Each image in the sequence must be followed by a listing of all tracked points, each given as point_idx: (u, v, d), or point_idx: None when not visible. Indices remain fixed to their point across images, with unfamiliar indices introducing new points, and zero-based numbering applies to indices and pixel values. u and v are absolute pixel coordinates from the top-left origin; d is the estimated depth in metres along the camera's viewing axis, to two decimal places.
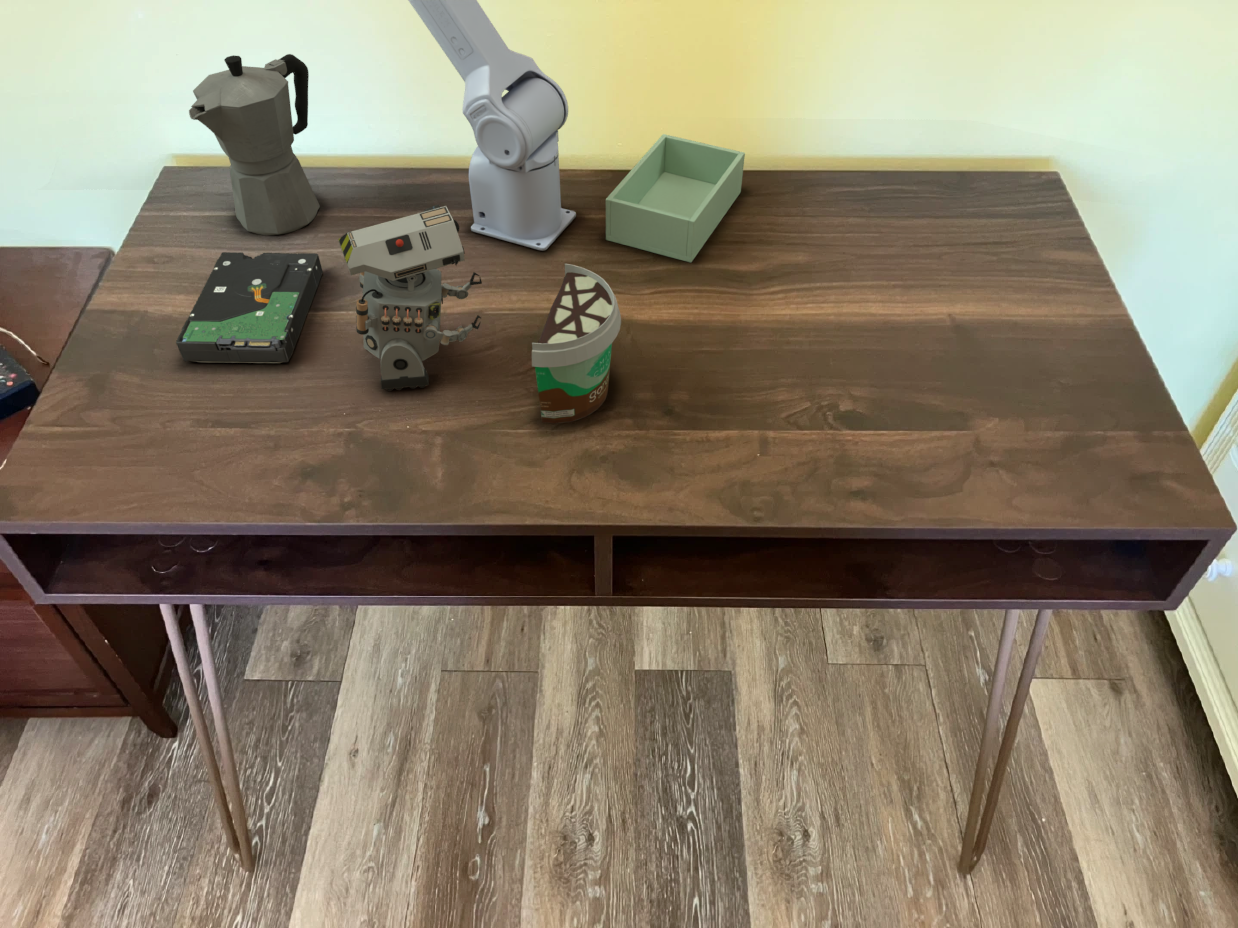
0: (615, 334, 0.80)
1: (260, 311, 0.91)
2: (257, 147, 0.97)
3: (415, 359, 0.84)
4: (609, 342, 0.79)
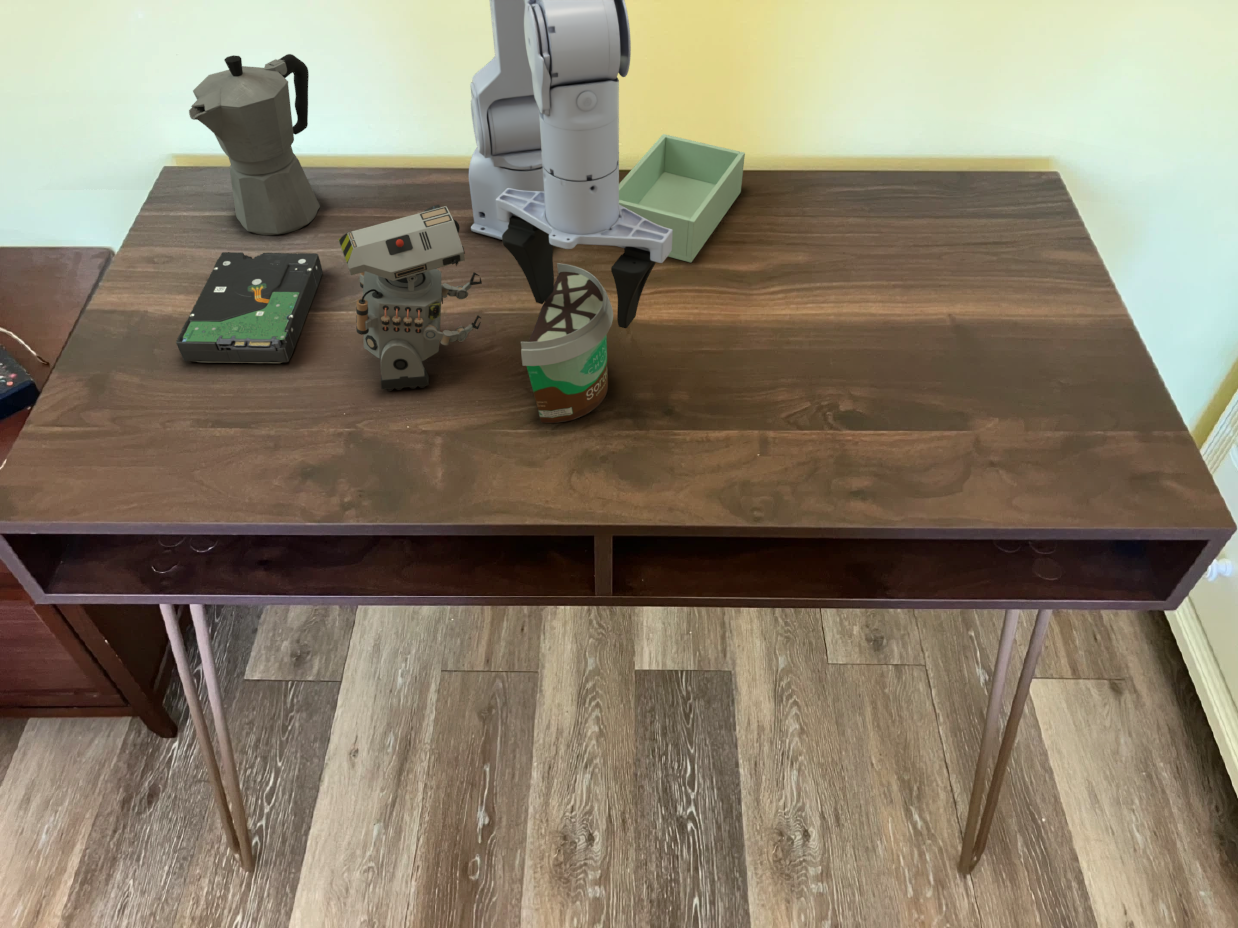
0: (606, 330, 0.79)
1: (260, 311, 0.91)
2: (257, 146, 0.97)
3: (415, 359, 0.84)
4: (600, 338, 0.79)
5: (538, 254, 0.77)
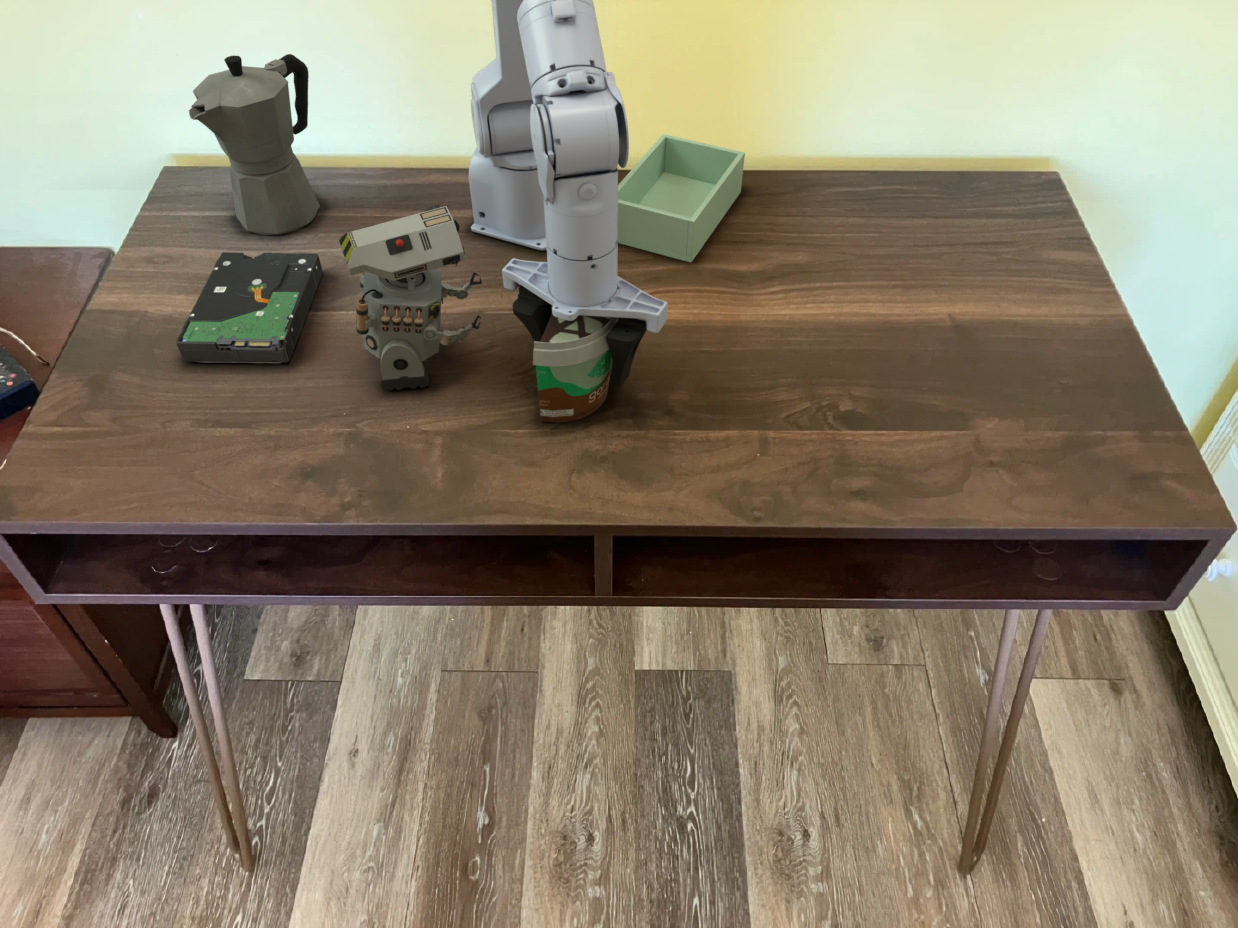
0: None
1: (260, 311, 0.91)
2: (257, 147, 0.97)
3: (415, 359, 0.84)
4: None
5: (546, 321, 0.82)
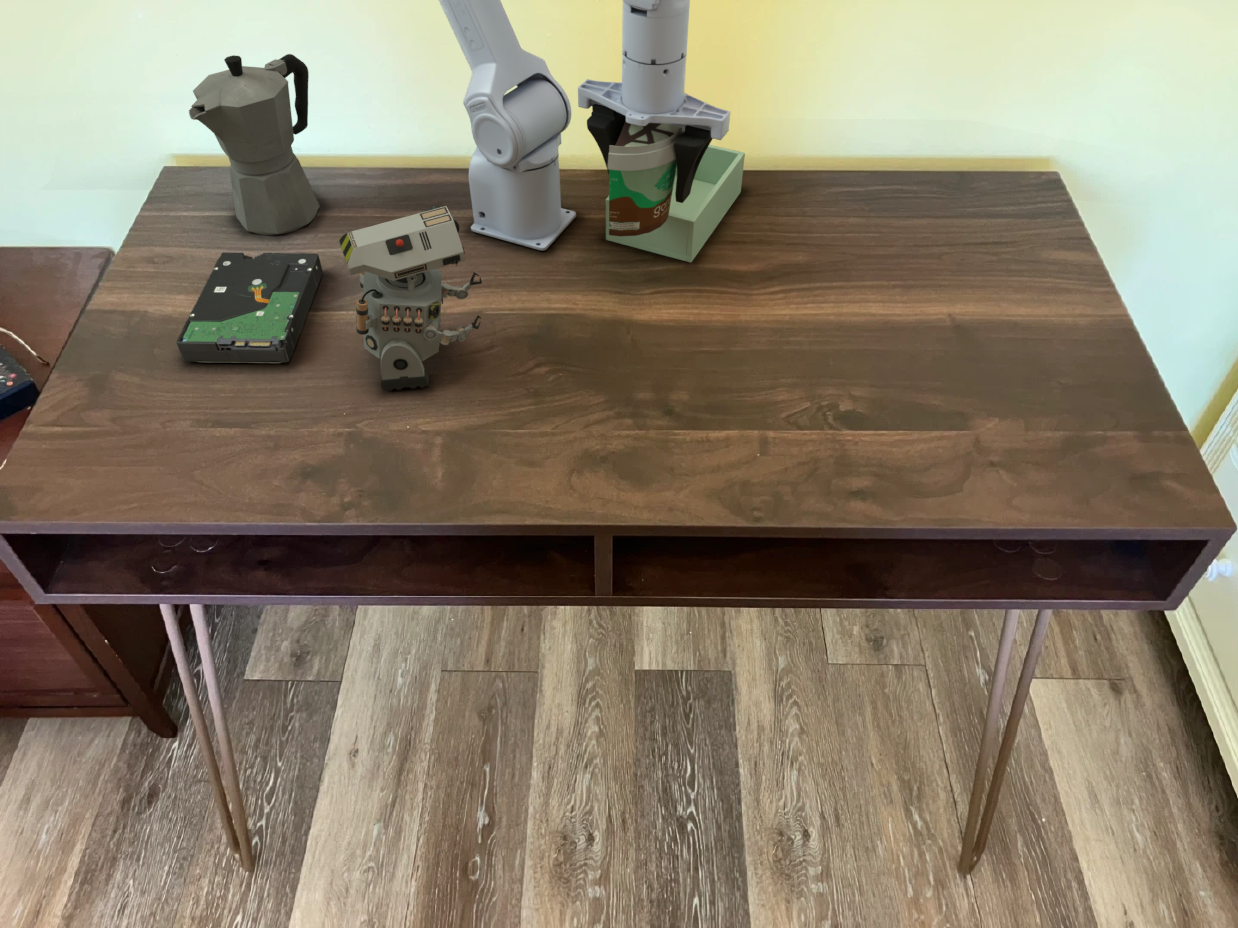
0: None
1: (260, 311, 0.91)
2: (257, 146, 0.97)
3: (415, 359, 0.84)
4: None
5: (616, 139, 0.89)
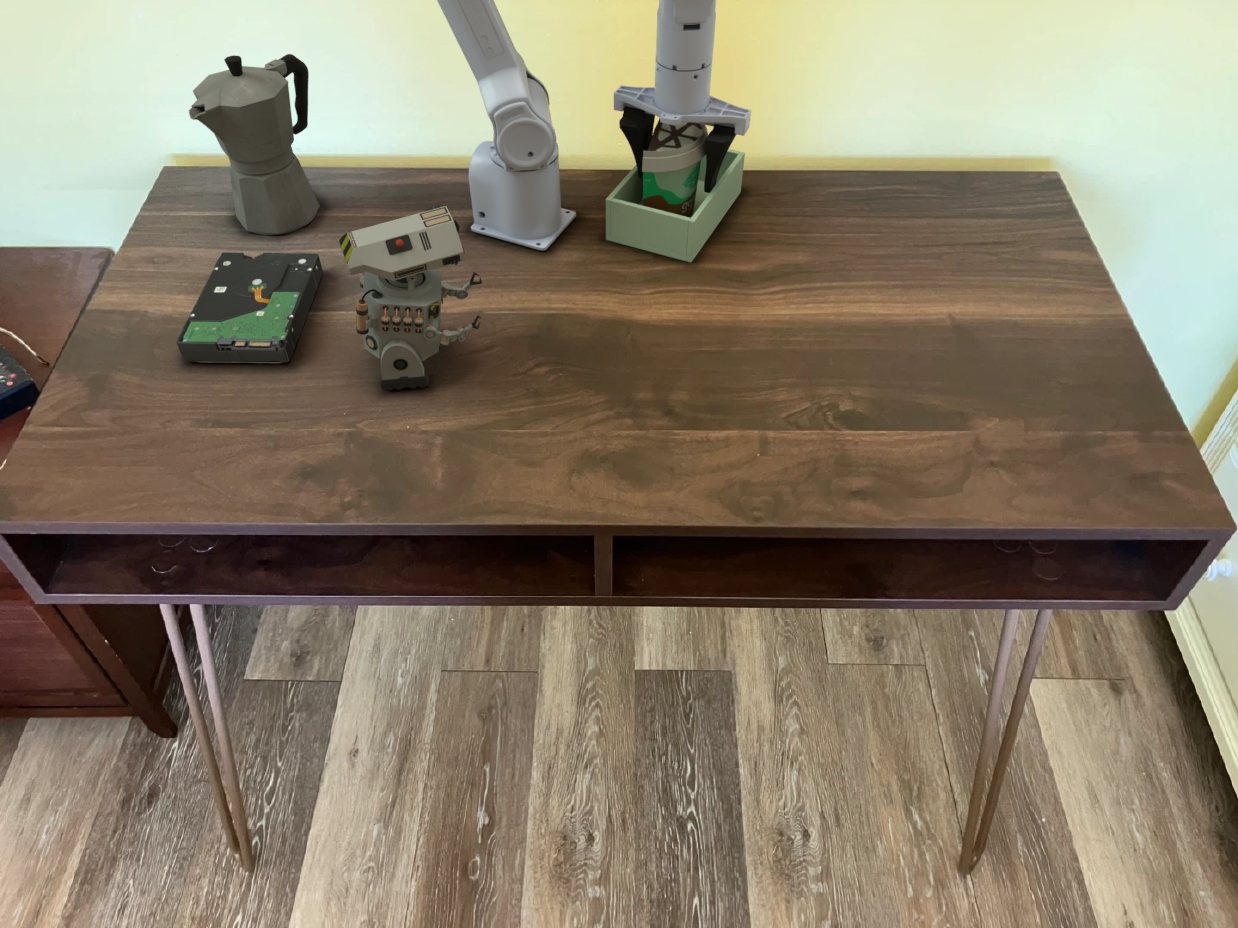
0: None
1: (260, 311, 0.91)
2: (257, 146, 0.97)
3: (415, 359, 0.84)
4: (702, 156, 0.99)
5: (644, 137, 1.01)
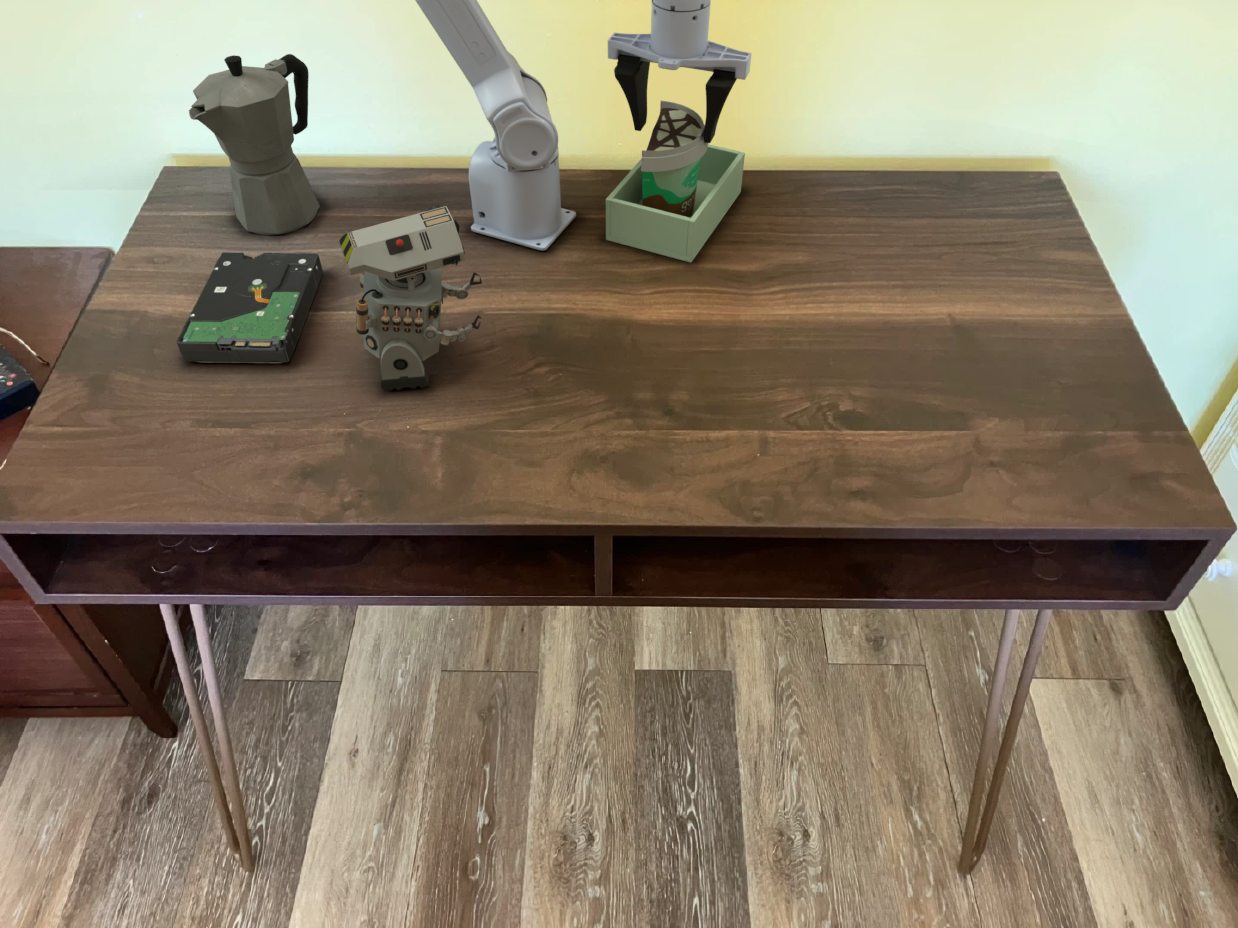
0: (705, 149, 0.99)
1: (260, 311, 0.91)
2: (257, 146, 0.97)
3: (415, 359, 0.84)
4: (700, 155, 0.99)
5: (640, 86, 0.97)
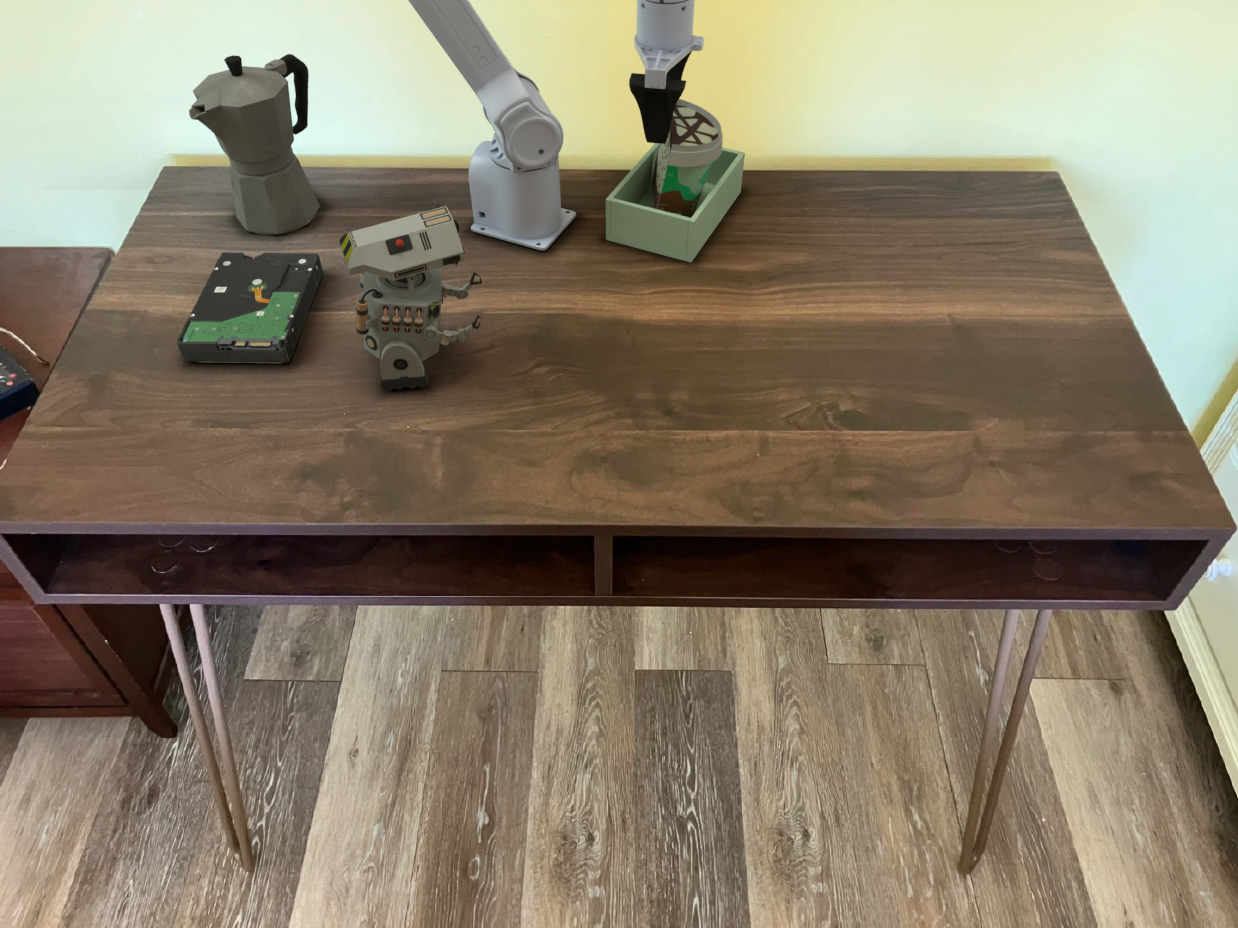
0: None
1: (260, 311, 0.91)
2: (257, 146, 0.97)
3: (415, 359, 0.84)
4: (720, 153, 0.99)
5: None
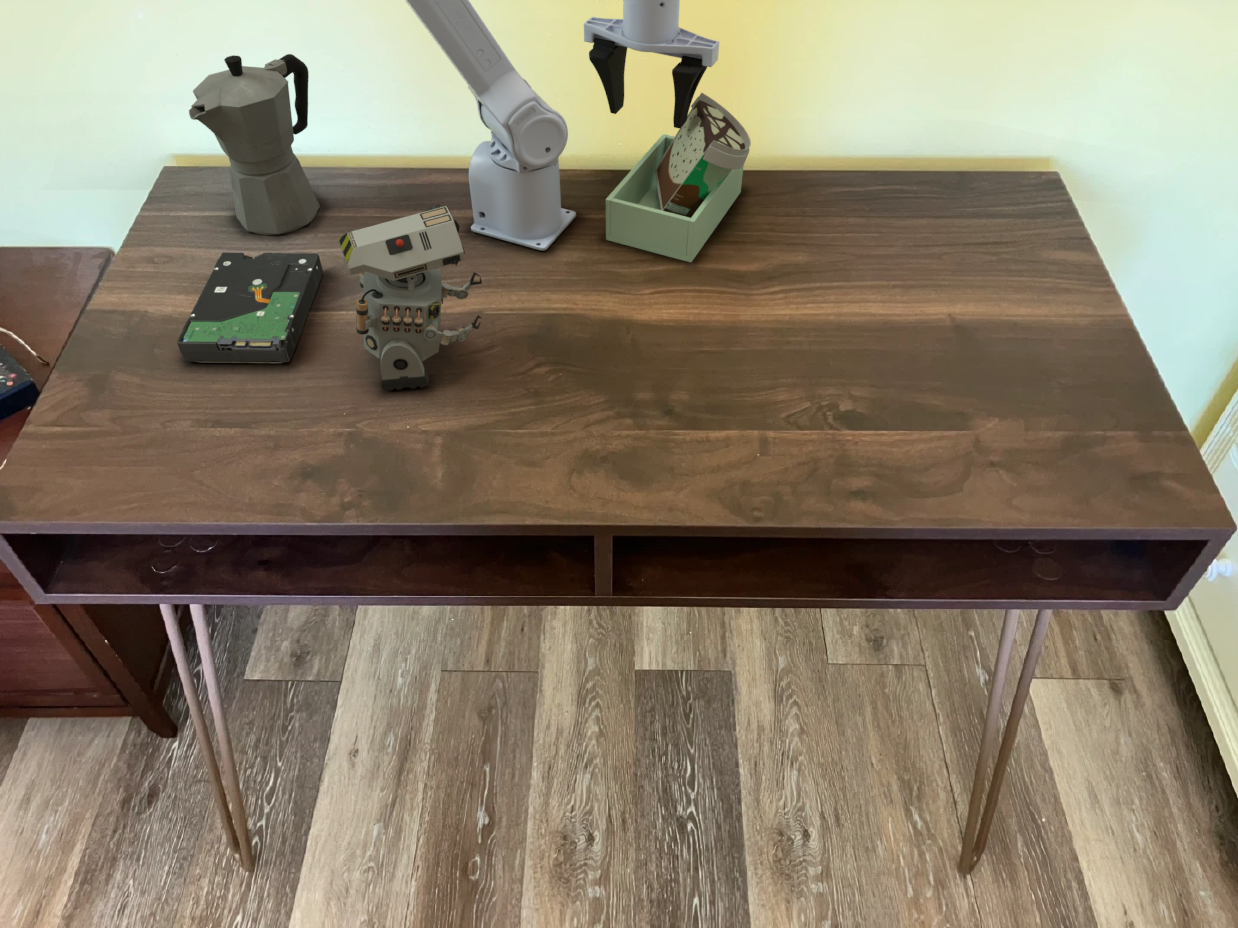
0: None
1: (261, 311, 0.91)
2: (257, 146, 0.97)
3: (415, 359, 0.84)
4: None
5: None
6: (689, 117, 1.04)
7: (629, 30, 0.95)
